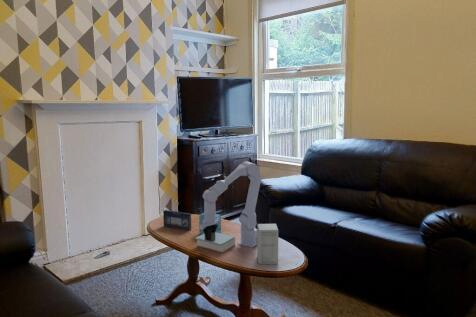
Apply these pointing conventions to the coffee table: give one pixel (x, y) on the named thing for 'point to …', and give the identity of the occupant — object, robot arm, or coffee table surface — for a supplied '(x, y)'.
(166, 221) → the vhs cassette tape
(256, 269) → the coffee table surface
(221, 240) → the lid flap
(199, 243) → the carton
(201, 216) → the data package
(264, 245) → the supplement box
